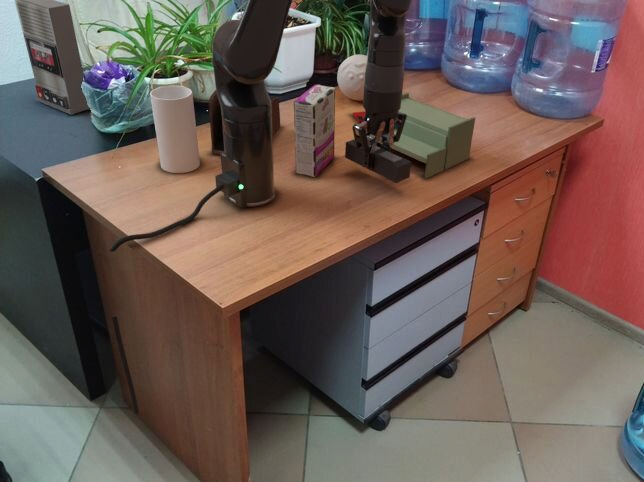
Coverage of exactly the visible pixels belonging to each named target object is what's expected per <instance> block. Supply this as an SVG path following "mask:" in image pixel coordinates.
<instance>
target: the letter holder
mask: <svg viewBox="0 0 644 482" xmlns="http://www.w3.org/2000/svg"><path fill="white" fill-rule="evenodd" d="M271 105H272V137H274V135H275V134H276V133H277V131H278V130H279V129H280V127H281V109H280V98H279V96H275V97H272V98H271ZM208 113H209V114H208V115H209V116H208V117H209V129H210V141H211V153H212V155H214V156H220V155H221V153H224V140H223V127H222V115H221V106H220V103H219V100H218V96H217V92H216V89H215V90H214V91H213V92H212V93H211V95H210V96H209V98H208Z"/></svg>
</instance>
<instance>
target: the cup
mask: <svg viewBox="0 0 644 482" xmlns="http://www.w3.org/2000/svg"><path fill="white" fill-rule="evenodd" d="M149 93H150V103H151V111H152V116H153V122H154V128H155V137H156V142H157V150H158V155H159V163H160V168H161V169H162V170H163V171H165V172H166V173H167V172H168V173H172V174H185V173H189V172H192V171H195V170H196V169H198V168H199V167H200V165H201V160H200V159H201V158H200V151H199V141H198V140H199V139H198V132H197V124H196V123H197V122H196V113H195V105H194V96H193V91H192V89H191V88H189V87H187V86H182V85H163V86H159V87H156V88H154V89H152V90H151V91H150V92H149Z"/></svg>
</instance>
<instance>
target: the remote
mask: <svg viewBox="0 0 644 482" xmlns="http://www.w3.org/2000/svg"><path fill="white" fill-rule="evenodd" d="M369 146H370V147H371V143H369ZM374 153H375V161H374V169H372V170H370V171H371V172H373V173H375V174H377V175H379V176H381V177H383V178H384V179H386V180H387V179H388V180H389V181H391V182H393V183H395V184H398V183H400V182H403V181H406V180H408V179H410V175H411V168H412V167H411V165H412V161H411V160H408V159H406V158H404V157H402V156H400V155H397V154H395V153H393V152H392V151H391V152H389V151H387V150H385V149H382V148H381V146H378V145H376V149H375V152H374ZM344 158H345V159H347V160H349V161H351V162H353V163H355V164H357V165H359V166H361V167H362V168H365V166H364V164H363V162H364V152H362V151H360V150H358V149H357V148H356V143H355V138H353V139H351V140H349V141H345V152H344Z"/></svg>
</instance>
